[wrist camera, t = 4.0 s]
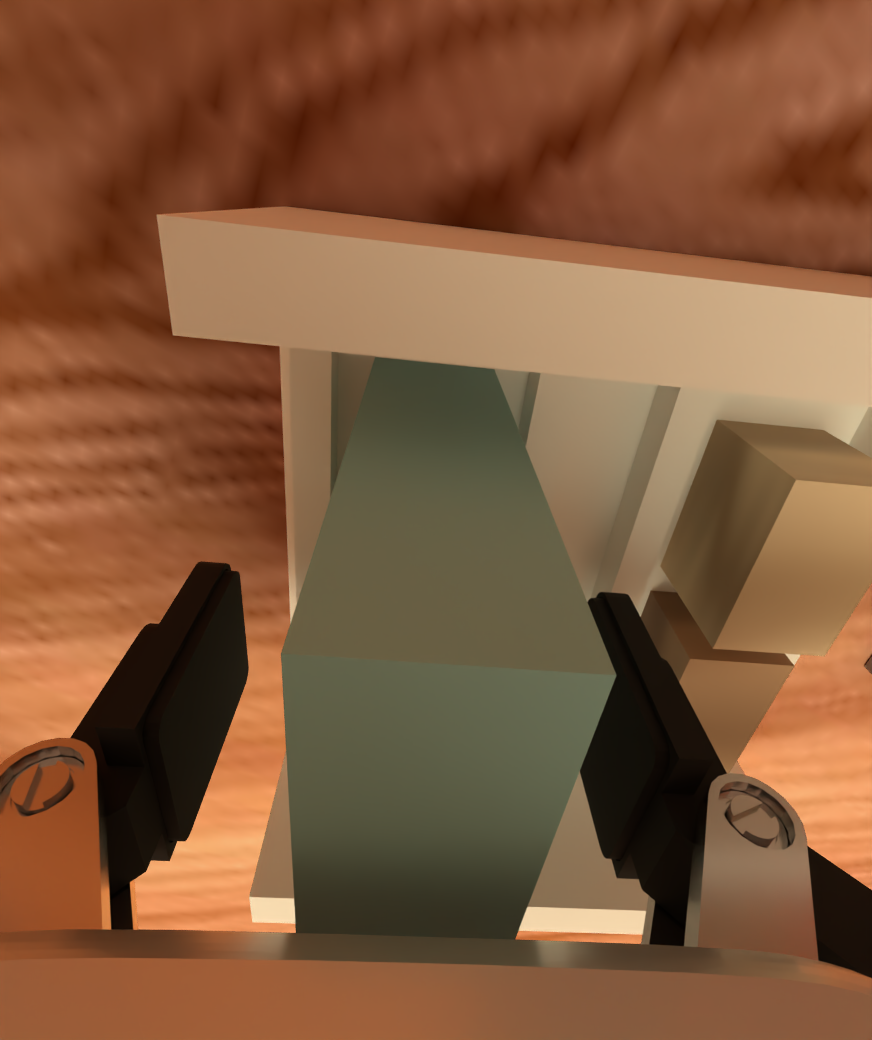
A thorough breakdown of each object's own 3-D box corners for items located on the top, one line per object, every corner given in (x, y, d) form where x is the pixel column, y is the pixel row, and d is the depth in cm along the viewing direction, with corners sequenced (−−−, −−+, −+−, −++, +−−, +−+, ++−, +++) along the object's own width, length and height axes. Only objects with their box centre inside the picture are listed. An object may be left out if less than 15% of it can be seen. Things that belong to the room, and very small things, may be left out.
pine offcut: (717, 419, 12) (796, 479, 9) (823, 429, 12) (929, 492, 10) (660, 565, 14) (712, 648, 12) (752, 573, 14) (824, 656, 12)
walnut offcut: (650, 590, 14) (689, 658, 12) (740, 597, 15) (794, 666, 13) (610, 694, 17) (638, 768, 14) (690, 699, 17) (729, 773, 15)
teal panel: (375, 357, 11) (281, 653, 4) (494, 368, 11) (615, 676, 4) (359, 692, 16) (304, 1095, 9) (441, 697, 16) (454, 1096, 9)
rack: (286, 206, 11) (155, 214, 6) (947, 285, 12) (1361, 355, 6) (301, 717, 18) (252, 922, 13) (701, 740, 19) (802, 939, 14)
